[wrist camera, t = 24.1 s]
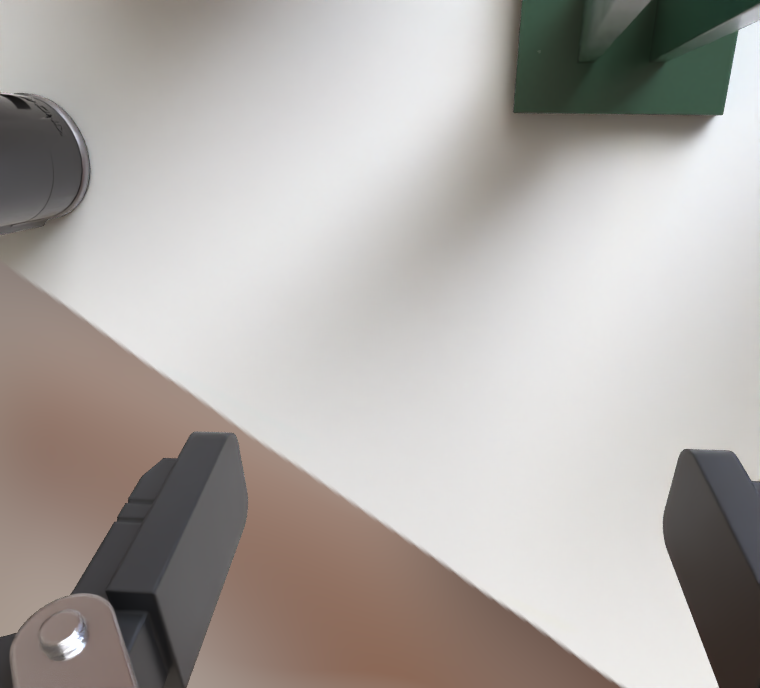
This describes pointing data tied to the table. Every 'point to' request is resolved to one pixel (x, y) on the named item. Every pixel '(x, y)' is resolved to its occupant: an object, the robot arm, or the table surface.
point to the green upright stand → (628, 55)
